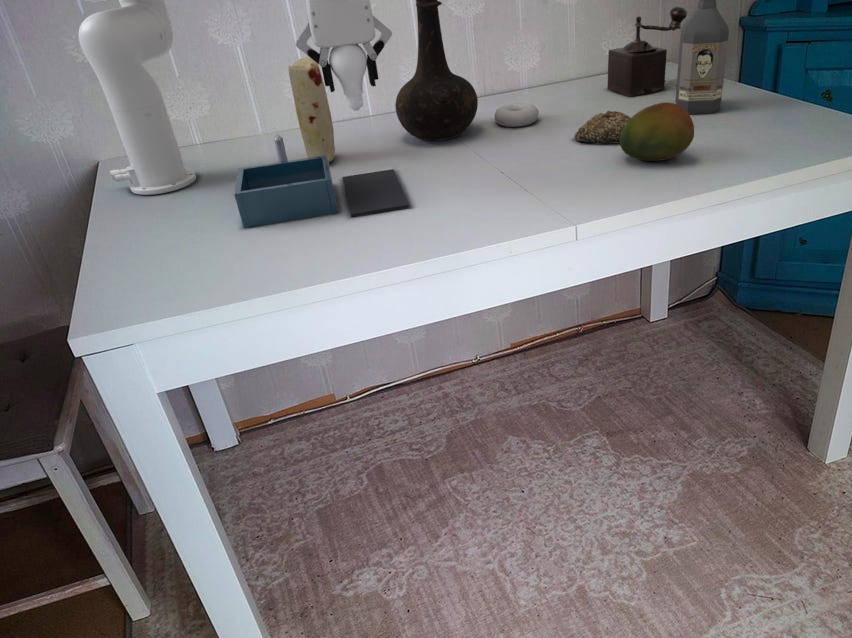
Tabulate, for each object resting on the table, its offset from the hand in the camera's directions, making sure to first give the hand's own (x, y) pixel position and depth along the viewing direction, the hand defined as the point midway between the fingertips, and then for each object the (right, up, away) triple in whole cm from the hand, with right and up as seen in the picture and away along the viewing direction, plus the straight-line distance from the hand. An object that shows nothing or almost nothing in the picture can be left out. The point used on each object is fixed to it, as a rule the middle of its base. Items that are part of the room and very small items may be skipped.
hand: (352, 86), depth 117 cm
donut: (+30, +8, +41) cm, 52 cm away
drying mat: (+2, -15, +11) cm, 19 cm away
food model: (-11, -4, +29) cm, 31 cm away
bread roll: (+48, +1, +28) cm, 55 cm away
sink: (-13, -18, +9) cm, 24 cm away
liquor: (+70, +10, +39) cm, 81 cm away
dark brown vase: (+13, +4, +38) cm, 40 cm away
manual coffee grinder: (+63, +22, +58) cm, 88 cm away
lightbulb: (0, -3, +2) cm, 4 cm away
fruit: (+54, -9, +14) cm, 56 cm away
